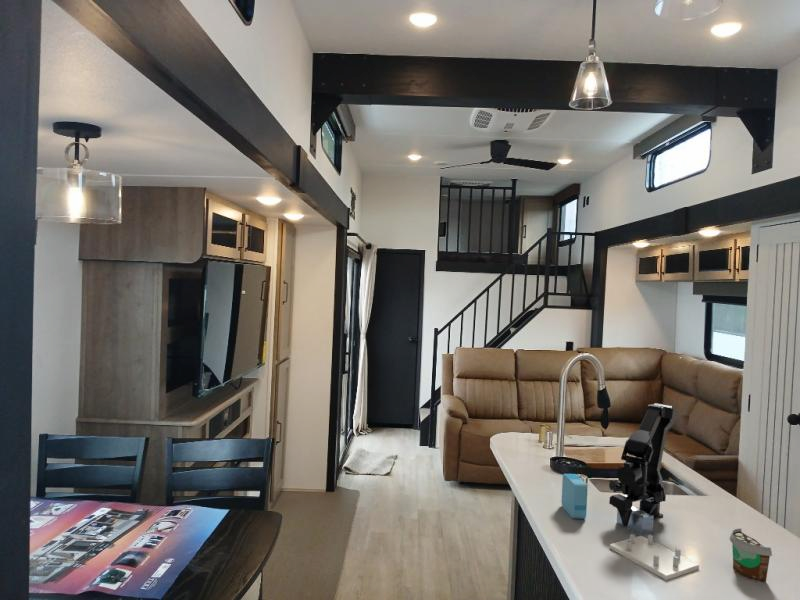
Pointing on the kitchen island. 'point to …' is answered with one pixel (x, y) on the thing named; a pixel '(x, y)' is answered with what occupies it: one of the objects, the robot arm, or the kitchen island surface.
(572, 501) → the light blue box
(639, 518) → the block
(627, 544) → the cream pegged board
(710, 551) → the kitchen island surface
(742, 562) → the food container
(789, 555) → the kitchen island surface
